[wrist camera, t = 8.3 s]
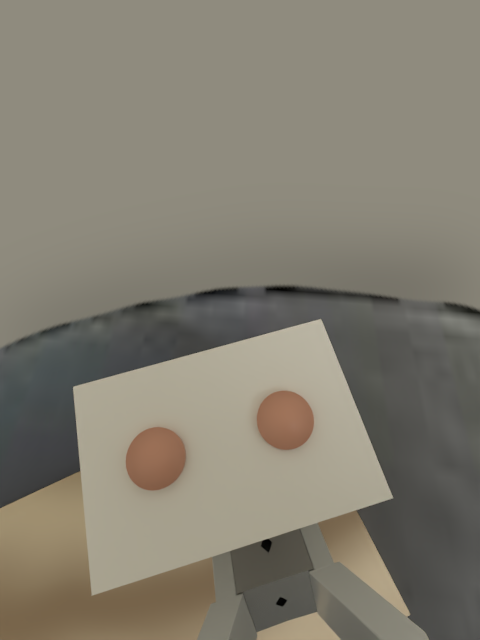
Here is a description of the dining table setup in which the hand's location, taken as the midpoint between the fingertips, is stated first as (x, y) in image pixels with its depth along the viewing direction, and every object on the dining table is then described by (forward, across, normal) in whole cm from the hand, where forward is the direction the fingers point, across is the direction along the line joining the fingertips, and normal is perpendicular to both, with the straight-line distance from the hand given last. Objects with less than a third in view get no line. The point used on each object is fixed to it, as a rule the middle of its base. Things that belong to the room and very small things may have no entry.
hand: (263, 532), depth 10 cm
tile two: (+5, 0, +1) cm, 5 cm away
